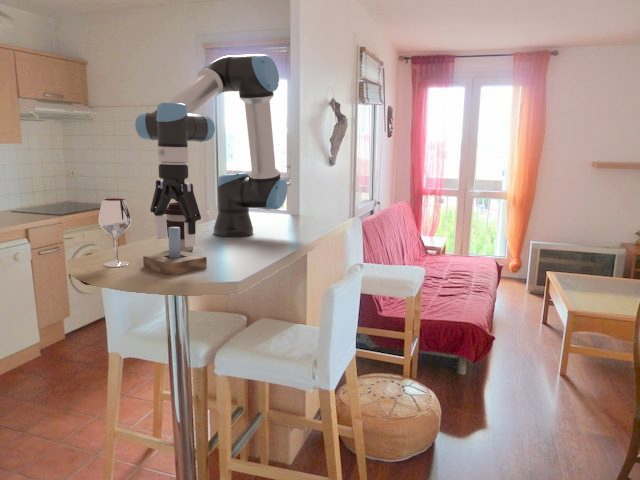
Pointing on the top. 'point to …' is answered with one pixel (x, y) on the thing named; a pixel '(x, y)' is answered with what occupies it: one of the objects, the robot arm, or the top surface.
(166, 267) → the hole block
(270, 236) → the top surface
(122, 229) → the wineglass
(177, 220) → the coffee cup
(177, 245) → the peg
